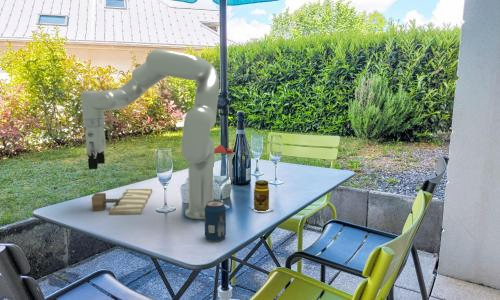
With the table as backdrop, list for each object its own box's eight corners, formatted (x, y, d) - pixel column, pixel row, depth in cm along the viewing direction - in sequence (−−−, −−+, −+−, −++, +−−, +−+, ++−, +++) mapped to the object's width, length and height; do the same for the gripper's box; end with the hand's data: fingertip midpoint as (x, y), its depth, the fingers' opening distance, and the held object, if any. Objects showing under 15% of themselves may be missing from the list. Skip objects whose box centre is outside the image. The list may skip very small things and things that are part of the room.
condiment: (257, 213, 145) (257, 184, 143) (248, 207, 153) (248, 179, 151) (273, 211, 148) (274, 182, 146) (263, 205, 156) (264, 177, 154)
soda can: (209, 232, 126) (209, 199, 124) (228, 235, 124) (228, 201, 122) (201, 240, 120) (200, 205, 117) (221, 243, 118) (221, 207, 116)
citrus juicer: (198, 180, 193) (198, 143, 190) (230, 178, 199) (230, 141, 195) (205, 188, 179) (205, 148, 175) (239, 185, 184) (239, 146, 181)
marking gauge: (118, 210, 147) (117, 196, 146) (92, 211, 145) (91, 197, 144) (121, 206, 151) (120, 192, 150) (96, 207, 150) (95, 193, 149)
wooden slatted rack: (140, 213, 143) (140, 210, 143) (109, 214, 142) (108, 210, 142) (152, 191, 173) (152, 188, 172) (126, 192, 171) (125, 189, 171)
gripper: (97, 125, 134) (100, 170, 137) (109, 120, 151) (112, 161, 154) (75, 125, 133) (79, 171, 136) (90, 120, 150) (93, 161, 153)
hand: (97, 166), depth 145 cm, fingers open, 9 cm apart
